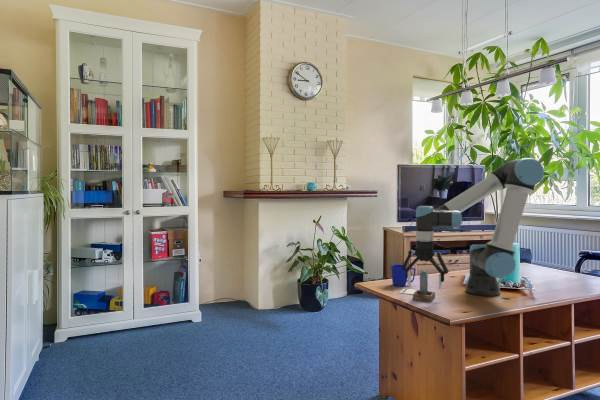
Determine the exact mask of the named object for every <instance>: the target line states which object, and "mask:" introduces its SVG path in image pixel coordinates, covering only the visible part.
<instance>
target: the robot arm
mask: <svg viewBox="0 0 600 400" xmlns="http://www.w3.org/2000/svg"><path fill="white" fill-rule="evenodd" d="M544 176H545V170H544V167H543V166H542V163H541V162H540V161H538V160H537V159H535V158H531V157H523V158H519V159H512V160H508V161H506V162H505V163H503V164H502V165H500V166H499V167H496V169H494V170H493V171H491V172H490V173H488V174H487V177H485V178H484V179H482V180H481V181H479V182H477V183H476V184H474V185H472V186H470V188H468V189H466V190H464V191H463V192H460V194H458V195H457V196H455V197H453V198H452V199H450V200H449V201H446V202H445V203H444V204H442V205H440V206H439V207H436V208H434V206H431V205H419V206H417V207H416V208H415V209H416V213H415V239H416V241H415V250H413V249H409V250H408V252H407V254H408V255H407V256H406V259H405V261H404V263H402V265H403V266H402V268H401V269H402V270H405V272H406V278H407V281H408V282H407V287H410V286H412V282H411V280H412V273H411V272H412V271H411V270H412V269H411V268H413V267H414V265H416V264H417V262H419V261H421V262H430V263H431V264H432V265H433V267H434V268H435V269H436V270H437V272H438V273H439V274H438V290H439V291H440V290H442V285H443V284H442V283H443V282H444V281H445V275H446V274H447V275H448V273H449V270H448V267H447V265H446V264H445V261H444V259H443V256H442V253H441V251H437V252H436V251H434V228H459V227H460V226H461V225H462V222H463V218H462V213H463V212H465V211H466V210H467V209H469V208H471V207H473V206H474V205H475V204H478V203H479V202H481V201H482V200H484V199H485V198H486V197H488V196H490V195H492V194H494V193H495V192H497V191H502V190H504V189H506V191H505V192H506V193H505V195H504V198H503V201H502V205H501V209H500V212H499V215H498V218H497V221H496V222H497V223H496V225H495V228H494V231H493V235H492V238H491V240H490V241H488V242H486V244H472V245H470V247H469V251H468V252H469V276H468V278H467V281H466V284H465V292H467V293H469V294H471V295H477V296H482V297H483V296H485V297H494V296H495V297H496V296H499V295H500V294H501V288H500V284H499V283H498V279H505V278H508V277H510V276H511V275H512V274H513V273H514V272H515V270H516V265H517V264H516V261H515V258H514V256H515V253H516V251H515V249H514V246H513V245H514V242H515V239H516V236H517V232H518V229H519V226H520V223H521V219H522V216H523V213H524V210H525V206H526V203H527V200H528V197H529V195H530V194H532V193H533V192H534V191H535V188H536V185H537V184H539V183H540V182H542V180H543V178H544ZM413 255H415V256H416V257H415V258H414V260H413V261H412V262H410V260H411V258H412V256H413ZM434 256H435V257H436V258H437V260H438V262H439V264H438V262H437V261H436V259H434ZM409 262H410V264H409ZM406 266H407V268H406ZM441 267H442V268H441Z"/></svg>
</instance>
